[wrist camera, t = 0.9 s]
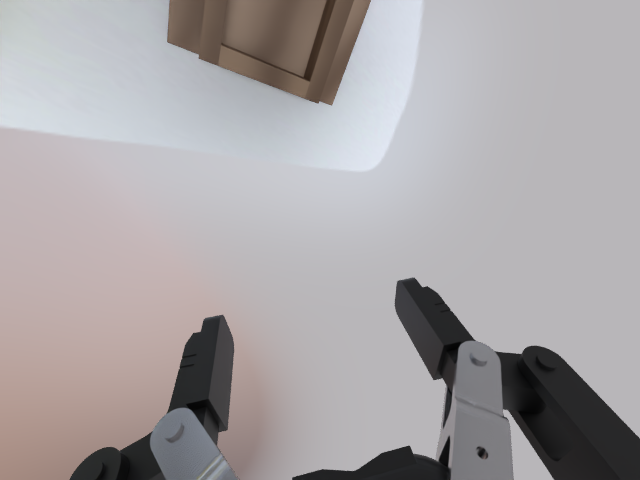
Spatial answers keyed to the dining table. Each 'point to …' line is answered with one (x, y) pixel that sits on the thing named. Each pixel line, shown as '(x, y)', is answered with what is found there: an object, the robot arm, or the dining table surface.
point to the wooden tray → (273, 39)
